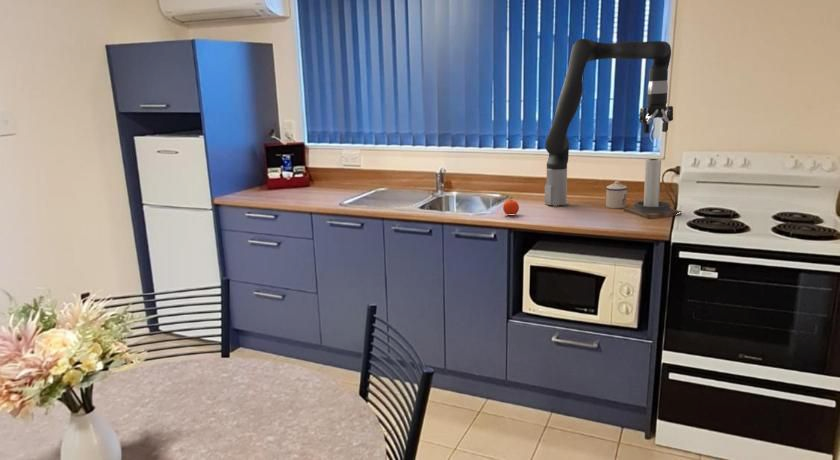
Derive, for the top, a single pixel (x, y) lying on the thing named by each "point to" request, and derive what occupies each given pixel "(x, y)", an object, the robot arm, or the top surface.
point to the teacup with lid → (616, 195)
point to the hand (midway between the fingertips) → (655, 132)
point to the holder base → (651, 215)
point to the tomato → (510, 207)
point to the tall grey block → (652, 182)
